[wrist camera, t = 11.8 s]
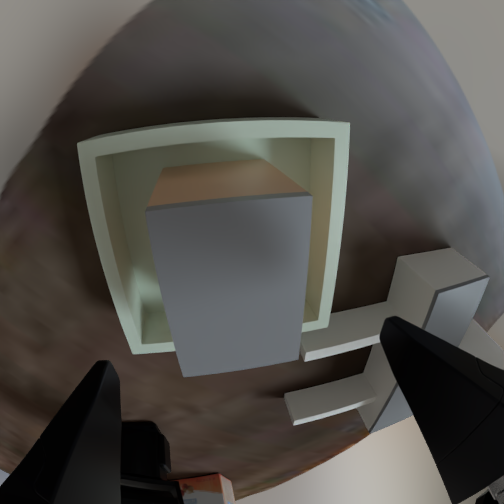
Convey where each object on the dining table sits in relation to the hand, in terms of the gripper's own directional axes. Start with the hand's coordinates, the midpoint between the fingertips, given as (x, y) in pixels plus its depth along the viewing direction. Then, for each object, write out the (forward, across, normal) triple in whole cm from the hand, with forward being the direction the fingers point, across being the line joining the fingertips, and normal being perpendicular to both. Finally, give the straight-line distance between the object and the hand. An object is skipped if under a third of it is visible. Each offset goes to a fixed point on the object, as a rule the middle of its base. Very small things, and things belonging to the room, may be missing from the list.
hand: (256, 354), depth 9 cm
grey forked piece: (+11, -13, +14) cm, 22 cm away
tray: (+10, 0, 0) cm, 11 cm away
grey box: (+10, 0, 0) cm, 10 cm away
